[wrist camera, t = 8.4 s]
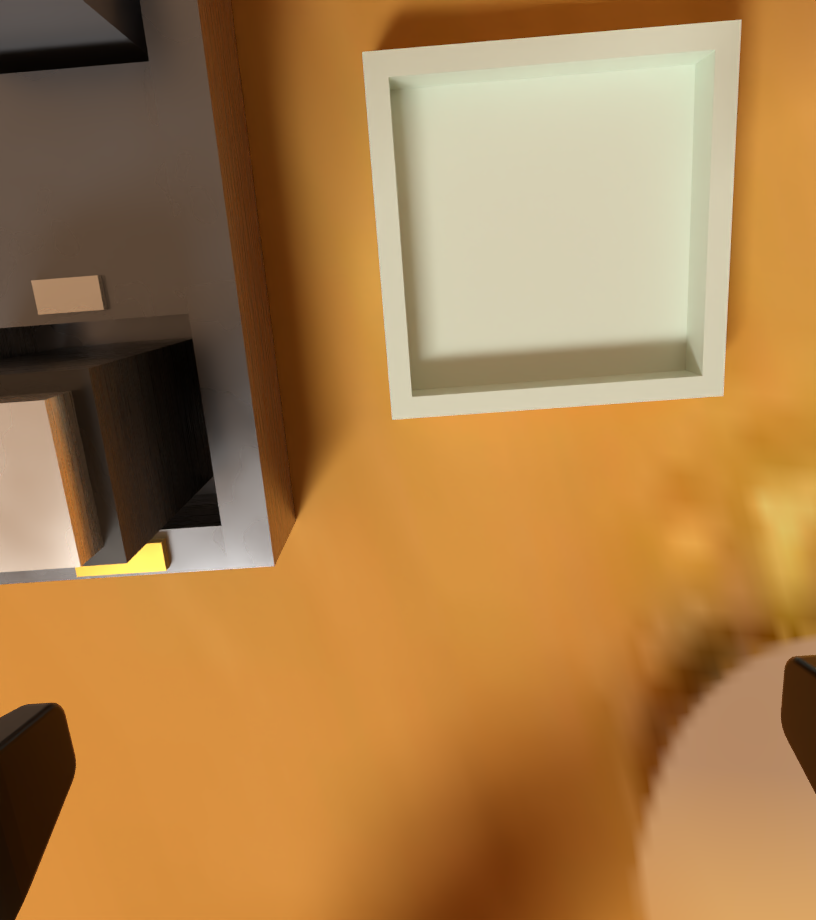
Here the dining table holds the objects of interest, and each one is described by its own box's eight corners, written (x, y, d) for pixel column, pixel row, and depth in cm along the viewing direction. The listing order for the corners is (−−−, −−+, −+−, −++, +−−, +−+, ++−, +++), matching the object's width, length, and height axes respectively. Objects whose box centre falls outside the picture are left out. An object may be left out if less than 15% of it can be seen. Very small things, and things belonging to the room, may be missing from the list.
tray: (711, 42, 18) (741, 19, 16) (698, 386, 20) (723, 396, 19) (366, 72, 18) (362, 52, 17) (393, 408, 21) (392, 419, 19)
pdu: (198, -257, 16) (-17, -796, 8) (295, 520, 22) (224, 670, 13) (-126, -226, 17) (-655, -721, 8) (49, 537, 22) (-171, 696, 14)
